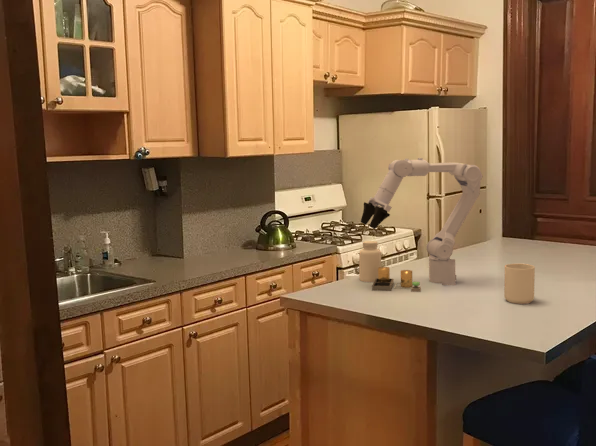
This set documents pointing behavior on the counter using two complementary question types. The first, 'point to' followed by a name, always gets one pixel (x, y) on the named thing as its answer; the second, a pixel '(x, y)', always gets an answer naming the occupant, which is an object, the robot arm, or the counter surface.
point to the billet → (406, 278)
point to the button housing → (415, 289)
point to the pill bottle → (369, 261)
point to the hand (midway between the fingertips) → (367, 225)
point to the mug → (519, 283)
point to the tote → (400, 288)
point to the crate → (382, 285)
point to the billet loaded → (383, 274)
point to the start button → (415, 284)
